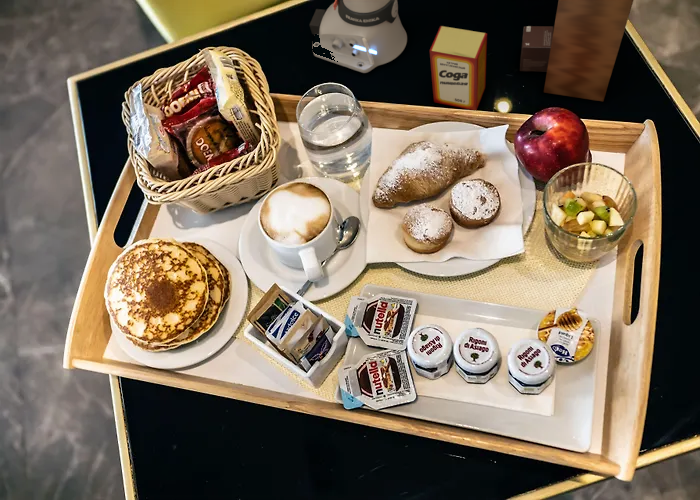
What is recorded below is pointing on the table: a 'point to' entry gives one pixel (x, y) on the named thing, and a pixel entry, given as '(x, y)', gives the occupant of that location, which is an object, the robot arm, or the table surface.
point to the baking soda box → (458, 67)
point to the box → (536, 48)
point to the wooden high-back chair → (585, 46)
